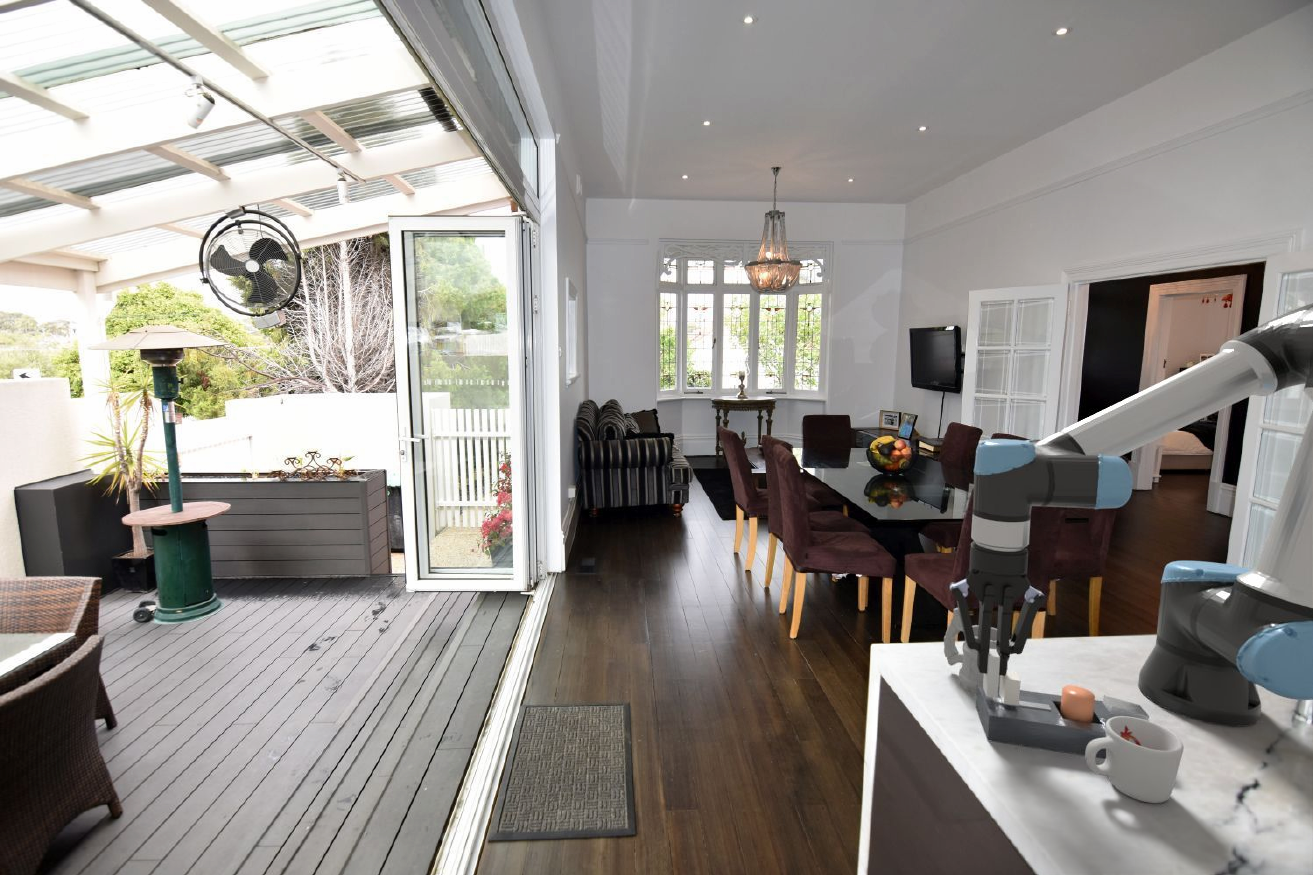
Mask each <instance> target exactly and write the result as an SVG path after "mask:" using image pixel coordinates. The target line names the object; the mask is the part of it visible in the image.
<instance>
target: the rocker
mask: <svg viewBox="0 0 1313 875" xmlns="http://www.w3.org/2000/svg"><path fill="white" fill-rule="evenodd" d="M1101 701H1102V703H1103V704H1104V705H1105V707H1106V708H1107V709H1108V711H1109V712H1110V713H1112V714H1115V715H1119V716H1128V717H1135V718H1139V719H1143V720H1147V721H1149V720H1150V715H1149V714H1148V713H1147V712H1146V711H1145V710H1144V708H1143V707H1142V706H1141V704H1137V703H1133V702H1129V701H1125V700H1123V699H1118V698H1115V697H1112V696H1107V695H1104V696H1103V699H1102V700H1101Z"/></svg>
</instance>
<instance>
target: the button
mask: <svg viewBox="0 0 1313 875" xmlns="http://www.w3.org/2000/svg"><path fill="white" fill-rule="evenodd" d="M1061 696H1062V698H1061V710H1060V715H1061V716H1062V718H1063V719H1068V720H1075V721H1082V722H1089V723H1093V713H1094V702H1095V700H1096V696H1095V694H1094V693H1093V692H1092V691H1091V690H1089V689H1086V688H1084V687H1081V686H1078V685H1072V684H1071V685H1064V686H1062V690H1061Z"/></svg>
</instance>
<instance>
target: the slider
mask: <svg viewBox="0 0 1313 875" xmlns="http://www.w3.org/2000/svg"><path fill="white" fill-rule="evenodd" d="M1021 682H1022V680H1021V678H1020V676H1019V675H1018V674H1017V671H1016V670H1010V669H1008V670H1007V673H1006V675H1005V676H1002V675H1000V689H999V694H1000V696H1001V699H1002V701H1003V703H1004V704H1009V705H1016V706H1019V697H1020V690H1021Z"/></svg>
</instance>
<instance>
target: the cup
mask: <svg viewBox="0 0 1313 875" xmlns="http://www.w3.org/2000/svg"><path fill="white" fill-rule="evenodd" d="M1105 730H1106V737H1105V738H1098V739H1094V740H1092V741H1091V742H1089V744H1088V745H1087V747H1086V752H1085V756H1084V757H1085V761H1086V764H1087V766H1088V767H1089V769H1090V770H1091V771H1092V772H1094V773H1095V774H1098V775H1100V776H1101V775H1102V776H1108V779H1109V781H1110V783H1112V785H1113V786H1114V788H1116V789H1117V790H1118V791H1120V792H1121V793H1123V794H1124V795H1126V796H1129V798H1133V799H1135V800H1138V801H1141V802H1144V803H1150V804H1160V803H1163V802H1166V801H1168V800H1169V798H1170V797H1171V795H1172V793H1173V790H1174V787H1175V784H1176V779H1177V776H1178V772H1179V769H1180V765H1181V762H1182V757H1183V753H1184V743H1183V742H1182V739H1180V738H1179V736H1177V735H1176V734H1175V733H1174V732H1172V731H1171V730H1169V729H1168V728H1166V727H1164V726H1162V725H1159V724H1157V723H1156V722H1152V721H1150V720H1148V721H1147V720H1143V719H1139V718H1135V717H1128V716H1117V717H1112V718H1110V719H1108V720H1107V722H1106V725H1105ZM1101 749H1106V759H1105V760H1104V762H1103V763H1102V764H1099V765H1098V764H1096V758H1097V757H1096V754H1097V752H1098V751H1099V750H1101Z"/></svg>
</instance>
